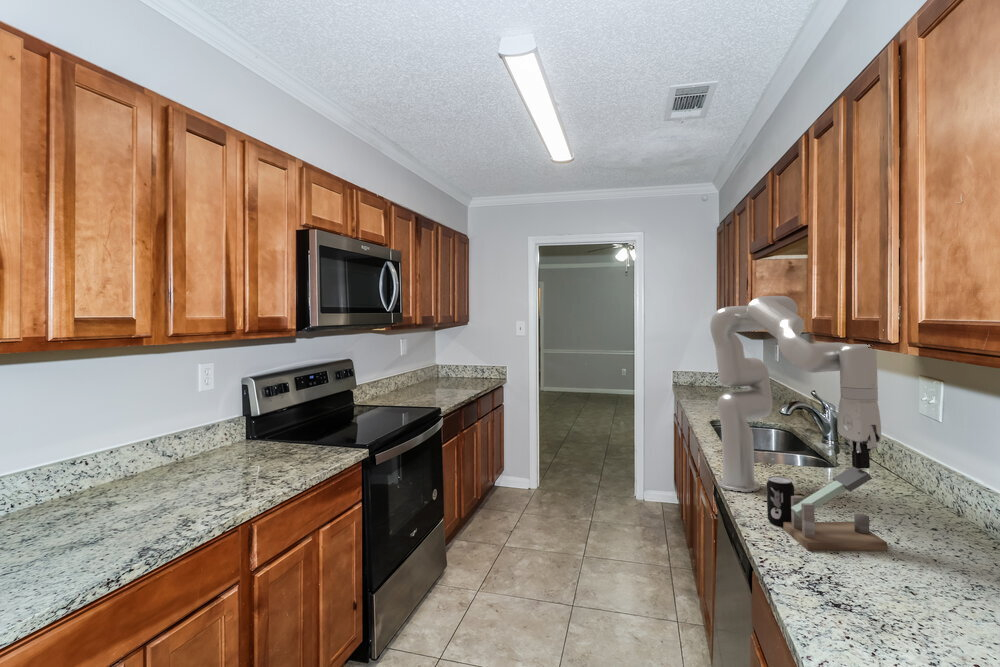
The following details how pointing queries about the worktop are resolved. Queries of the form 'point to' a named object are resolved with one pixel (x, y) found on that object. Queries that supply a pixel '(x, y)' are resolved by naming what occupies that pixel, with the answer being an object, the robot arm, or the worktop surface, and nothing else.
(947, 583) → the worktop surface
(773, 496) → the beverage can
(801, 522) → the press base
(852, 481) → the press lever
